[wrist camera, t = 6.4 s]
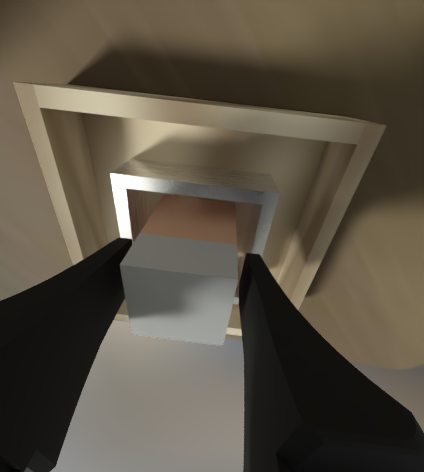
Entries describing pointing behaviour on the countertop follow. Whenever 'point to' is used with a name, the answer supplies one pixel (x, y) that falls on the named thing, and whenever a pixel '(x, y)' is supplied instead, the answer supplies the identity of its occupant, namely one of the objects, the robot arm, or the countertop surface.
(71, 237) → the walled box
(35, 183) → the countertop surface
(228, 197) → the frame
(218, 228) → the tan-topped block
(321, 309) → the countertop surface
